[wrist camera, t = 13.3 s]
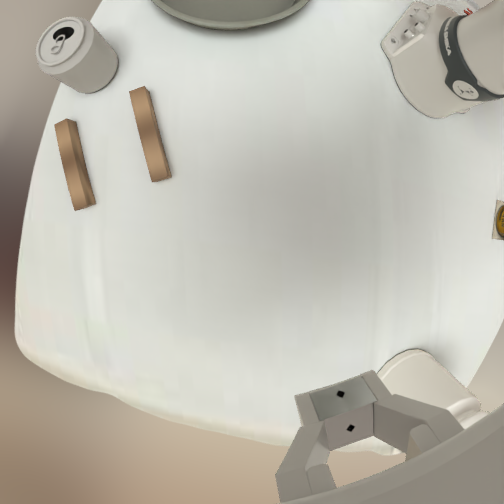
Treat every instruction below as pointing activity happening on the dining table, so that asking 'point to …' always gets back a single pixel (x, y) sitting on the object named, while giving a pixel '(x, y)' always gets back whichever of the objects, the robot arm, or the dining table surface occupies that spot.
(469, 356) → the dining table surface
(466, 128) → the dining table surface
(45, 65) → the can
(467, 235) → the dining table surface
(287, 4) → the cake pan
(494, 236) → the condiment
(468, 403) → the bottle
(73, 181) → the parallel wooden bars
